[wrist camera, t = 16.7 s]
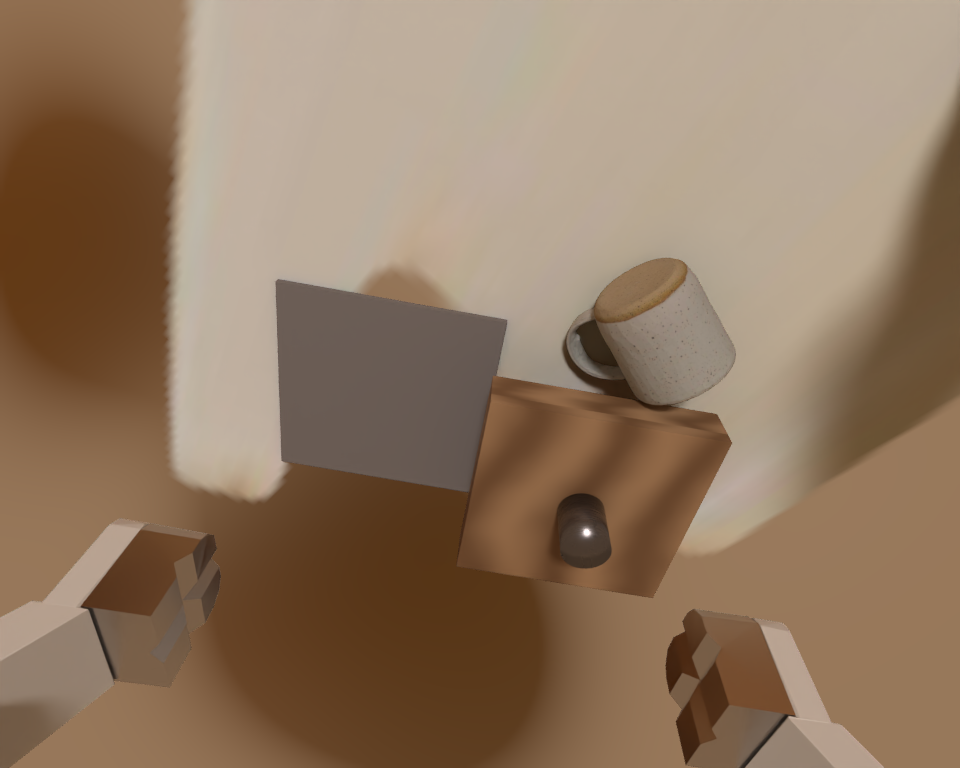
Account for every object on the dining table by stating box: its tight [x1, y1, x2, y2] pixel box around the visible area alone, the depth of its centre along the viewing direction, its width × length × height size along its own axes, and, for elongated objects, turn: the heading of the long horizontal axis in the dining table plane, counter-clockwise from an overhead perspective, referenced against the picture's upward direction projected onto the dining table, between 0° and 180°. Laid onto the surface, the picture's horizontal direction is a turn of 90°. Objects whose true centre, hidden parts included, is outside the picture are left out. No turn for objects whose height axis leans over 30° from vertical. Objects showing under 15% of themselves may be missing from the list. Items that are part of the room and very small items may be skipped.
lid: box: [456, 376, 732, 598], centre depth 43 cm, size 17×17×8 cm
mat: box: [276, 279, 507, 492], centre depth 48 cm, size 18×18×1 cm
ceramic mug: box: [566, 258, 736, 405], centre depth 40 cm, size 11×8×8 cm
